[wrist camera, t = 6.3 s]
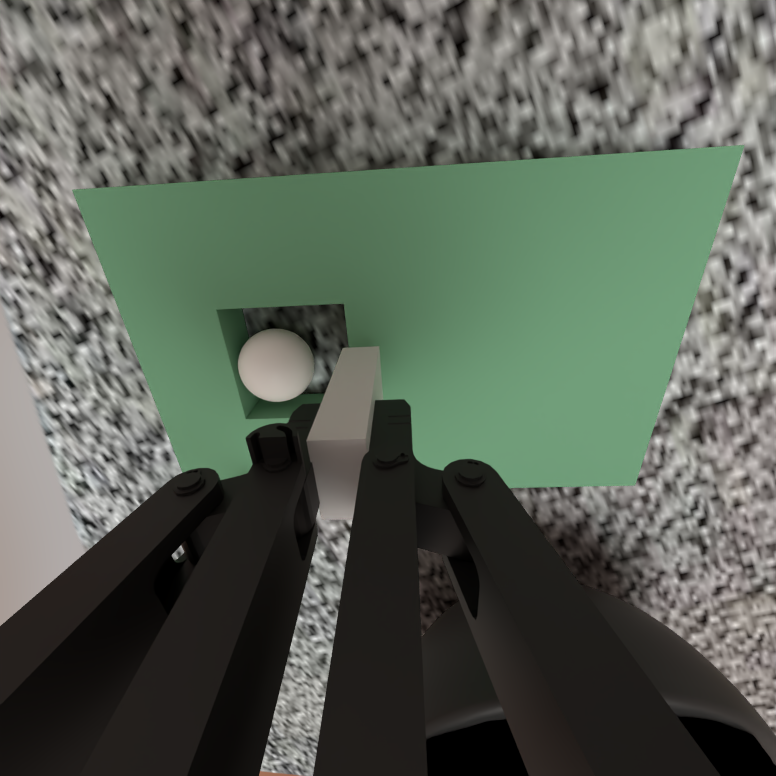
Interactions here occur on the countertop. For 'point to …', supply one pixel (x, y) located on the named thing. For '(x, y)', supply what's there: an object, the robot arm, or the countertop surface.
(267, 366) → the ball
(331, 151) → the countertop surface
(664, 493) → the countertop surface
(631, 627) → the coal bowl
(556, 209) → the green
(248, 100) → the countertop surface
